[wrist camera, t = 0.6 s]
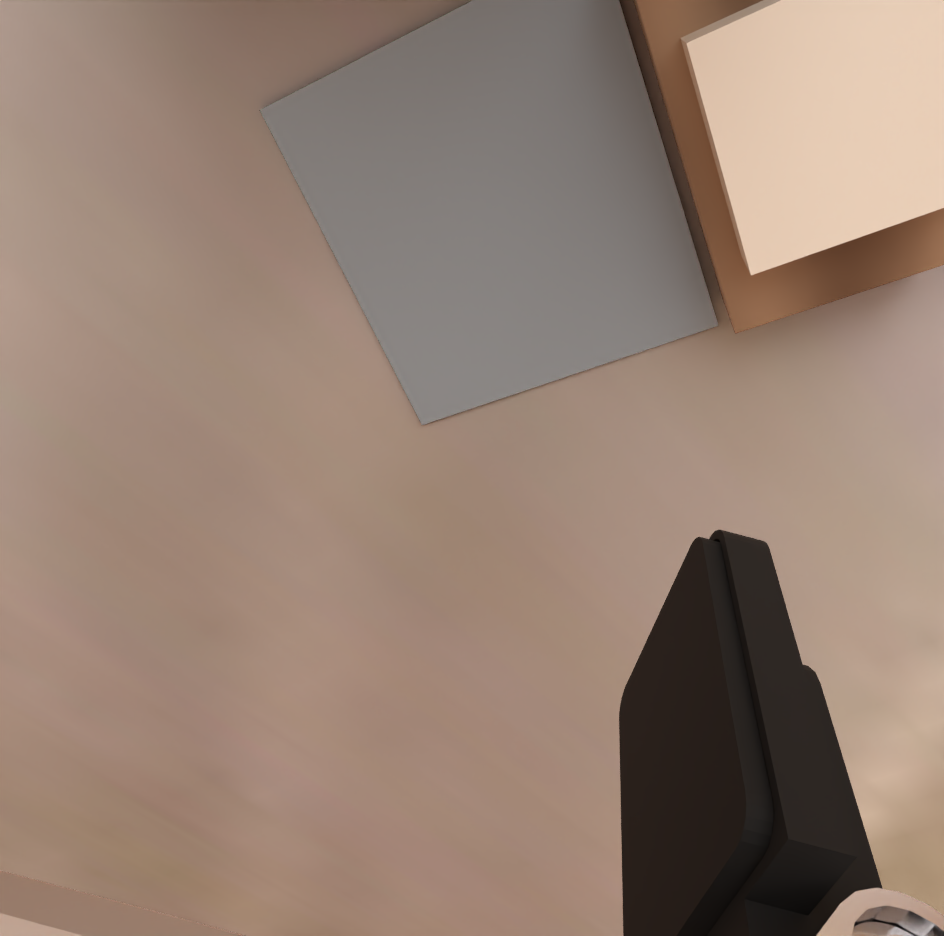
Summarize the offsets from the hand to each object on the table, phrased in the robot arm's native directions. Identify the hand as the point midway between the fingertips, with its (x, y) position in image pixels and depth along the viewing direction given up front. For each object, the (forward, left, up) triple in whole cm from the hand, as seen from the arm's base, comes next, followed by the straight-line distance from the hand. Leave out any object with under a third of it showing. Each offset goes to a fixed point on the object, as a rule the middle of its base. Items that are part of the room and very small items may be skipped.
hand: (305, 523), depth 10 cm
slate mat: (+2, +3, -28) cm, 28 cm away
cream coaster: (-11, +3, -23) cm, 25 cm away
